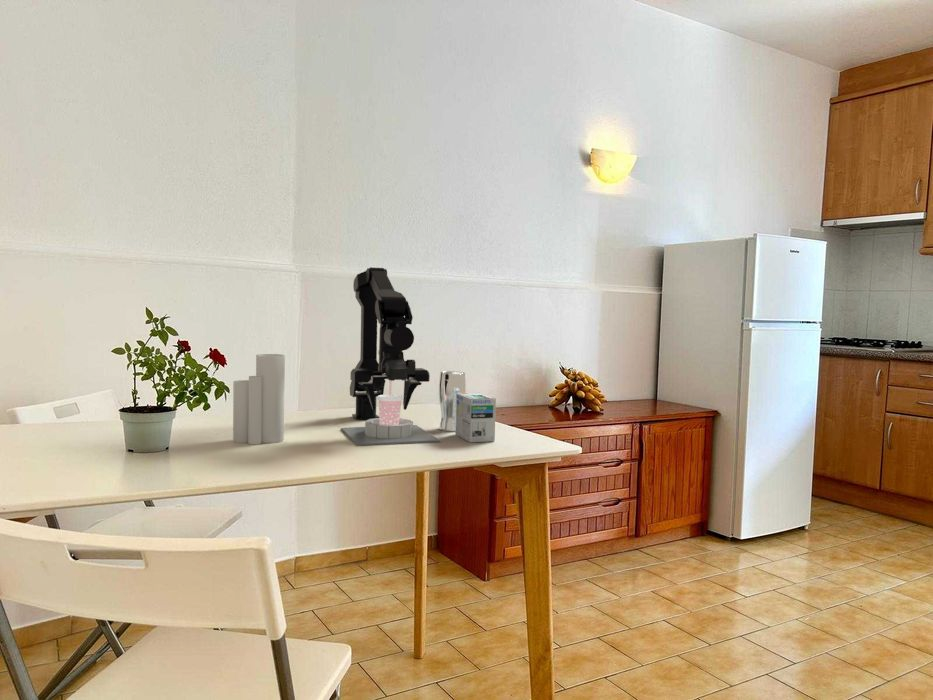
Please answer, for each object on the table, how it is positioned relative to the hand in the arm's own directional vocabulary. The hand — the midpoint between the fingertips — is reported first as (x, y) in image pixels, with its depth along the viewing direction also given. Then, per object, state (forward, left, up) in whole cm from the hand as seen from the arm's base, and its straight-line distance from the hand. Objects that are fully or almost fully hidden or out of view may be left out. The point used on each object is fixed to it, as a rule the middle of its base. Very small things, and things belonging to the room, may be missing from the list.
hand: (389, 409), depth 181 cm
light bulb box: (+7, +20, -7) cm, 22 cm away
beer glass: (-5, +18, -7) cm, 20 cm away
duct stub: (0, 0, -6) cm, 6 cm away
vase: (0, -31, -7) cm, 32 cm away
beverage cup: (0, 0, -6) cm, 6 cm away
